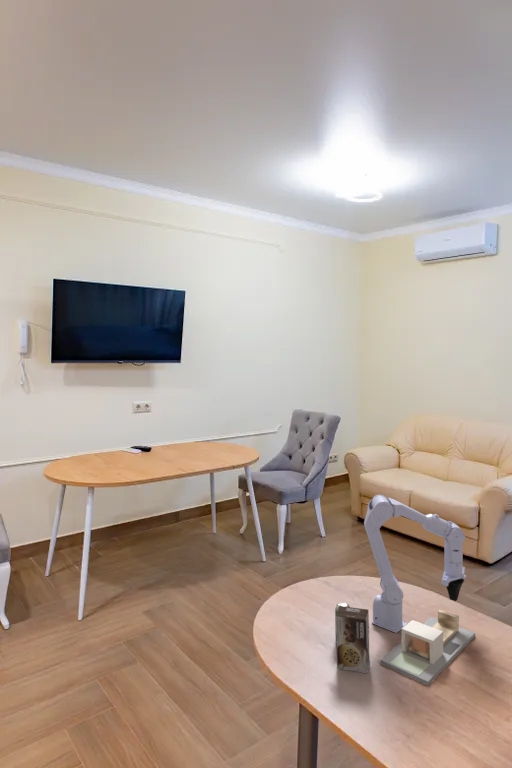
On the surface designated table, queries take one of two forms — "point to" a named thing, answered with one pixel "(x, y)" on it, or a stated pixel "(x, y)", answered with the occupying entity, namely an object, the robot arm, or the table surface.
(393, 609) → the robot arm
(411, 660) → the plate
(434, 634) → the tunnel
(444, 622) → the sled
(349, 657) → the cookie box
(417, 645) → the block
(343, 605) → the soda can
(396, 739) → the table surface
